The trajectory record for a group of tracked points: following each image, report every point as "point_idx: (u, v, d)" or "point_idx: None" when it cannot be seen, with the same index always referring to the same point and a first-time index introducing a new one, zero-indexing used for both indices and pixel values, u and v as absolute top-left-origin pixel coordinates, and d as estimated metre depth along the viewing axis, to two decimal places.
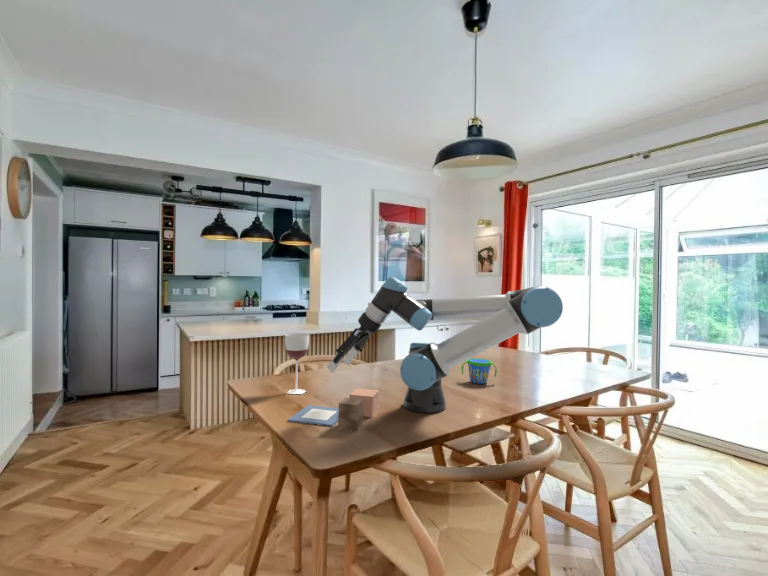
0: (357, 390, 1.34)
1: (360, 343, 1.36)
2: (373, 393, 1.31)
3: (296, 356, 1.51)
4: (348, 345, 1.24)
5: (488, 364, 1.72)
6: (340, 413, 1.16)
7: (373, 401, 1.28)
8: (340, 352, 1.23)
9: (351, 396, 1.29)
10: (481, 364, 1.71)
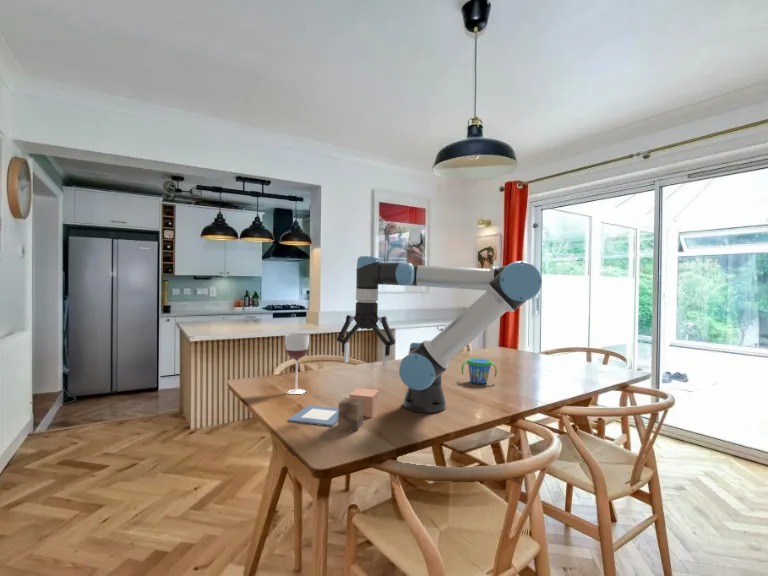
0: (357, 390, 1.34)
1: None
2: (373, 393, 1.31)
3: (296, 356, 1.51)
4: None
5: (488, 364, 1.72)
6: (340, 413, 1.16)
7: (373, 401, 1.28)
8: None
9: (351, 396, 1.29)
10: (481, 364, 1.71)
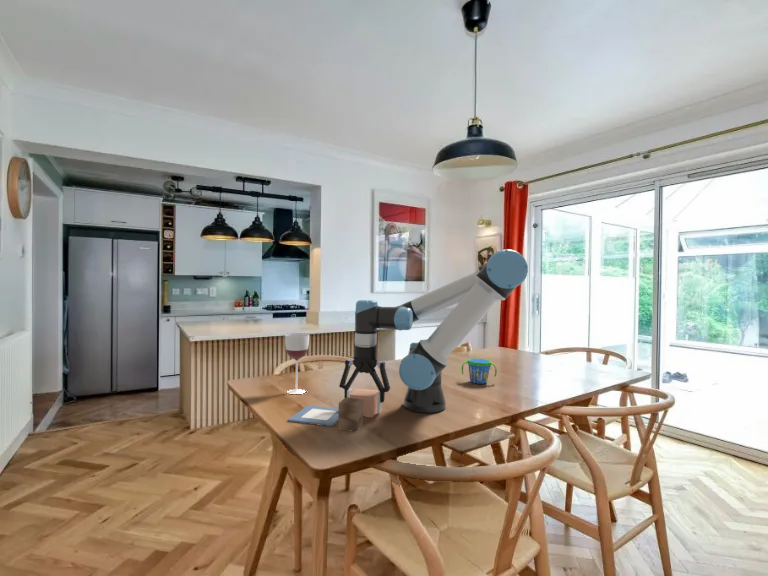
0: (357, 390, 1.34)
1: None
2: (373, 393, 1.31)
3: (296, 356, 1.51)
4: None
5: (488, 364, 1.72)
6: (340, 413, 1.16)
7: (373, 401, 1.28)
8: None
9: (351, 396, 1.29)
10: (481, 364, 1.71)
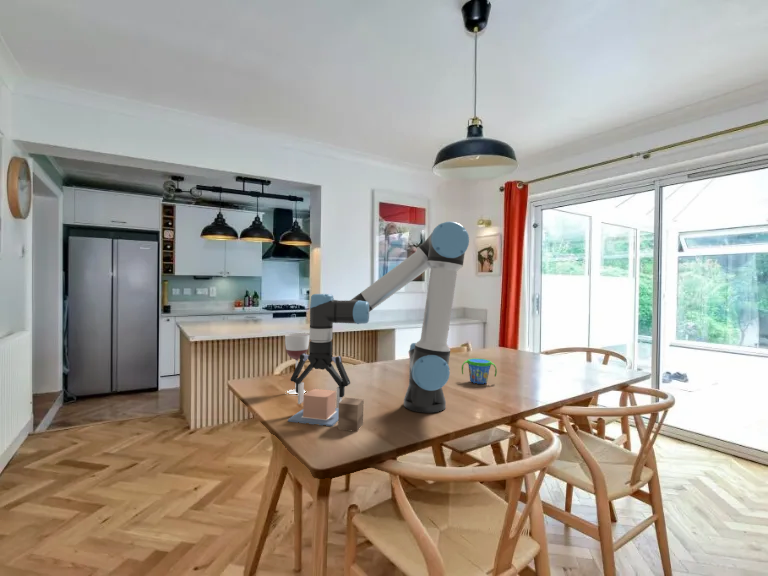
0: (313, 391, 1.29)
1: None
2: (328, 394, 1.26)
3: (296, 356, 1.51)
4: None
5: (488, 364, 1.72)
6: (340, 413, 1.16)
7: (328, 402, 1.23)
8: None
9: (305, 397, 1.24)
10: (481, 364, 1.71)
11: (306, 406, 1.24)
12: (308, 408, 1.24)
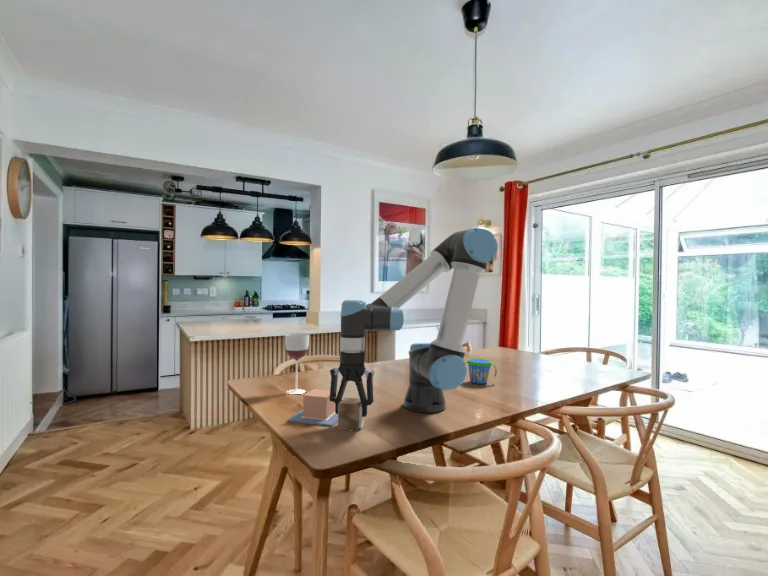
0: (313, 391, 1.29)
1: None
2: (328, 394, 1.26)
3: (296, 356, 1.51)
4: None
5: (488, 364, 1.72)
6: (340, 413, 1.16)
7: (328, 402, 1.23)
8: None
9: (305, 397, 1.24)
10: (481, 364, 1.71)
11: (306, 406, 1.24)
12: (308, 408, 1.24)
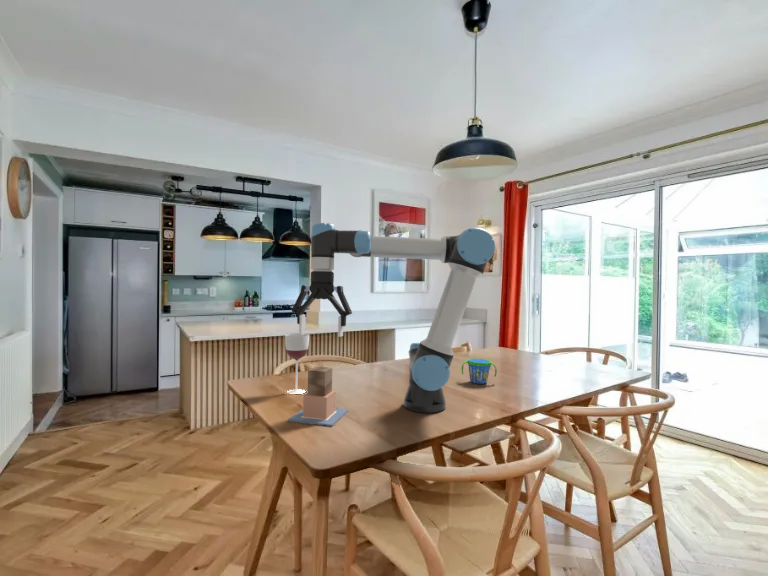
0: None
1: None
2: (328, 394, 1.26)
3: (296, 356, 1.51)
4: None
5: (488, 364, 1.72)
6: (309, 379, 1.25)
7: (328, 402, 1.23)
8: None
9: (305, 397, 1.24)
10: (481, 364, 1.71)
11: (306, 406, 1.24)
12: (308, 408, 1.24)
